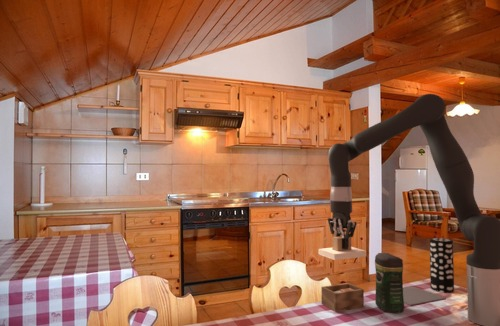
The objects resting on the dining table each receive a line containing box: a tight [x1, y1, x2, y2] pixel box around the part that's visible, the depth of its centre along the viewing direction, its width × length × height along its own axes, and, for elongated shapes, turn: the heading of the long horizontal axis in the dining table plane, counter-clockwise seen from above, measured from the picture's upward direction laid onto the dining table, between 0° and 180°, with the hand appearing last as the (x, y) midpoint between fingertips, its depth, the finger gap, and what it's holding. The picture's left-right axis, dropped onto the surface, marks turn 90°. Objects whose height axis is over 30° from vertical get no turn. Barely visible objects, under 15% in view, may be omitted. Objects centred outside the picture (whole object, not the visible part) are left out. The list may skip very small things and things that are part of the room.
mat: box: [403, 285, 447, 307], centre depth 129 cm, size 18×15×1 cm
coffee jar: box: [374, 252, 405, 314], centre depth 117 cm, size 10×8×19 cm
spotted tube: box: [429, 237, 455, 294], centre depth 137 cm, size 8×8×20 cm
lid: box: [318, 235, 367, 261], centre depth 120 cm, size 13×9×6 cm
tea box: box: [320, 282, 365, 313], centre depth 119 cm, size 12×8×6 cm, turn 113°
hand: (341, 247), depth 120 cm, fingers closed on lid, 3 cm apart
